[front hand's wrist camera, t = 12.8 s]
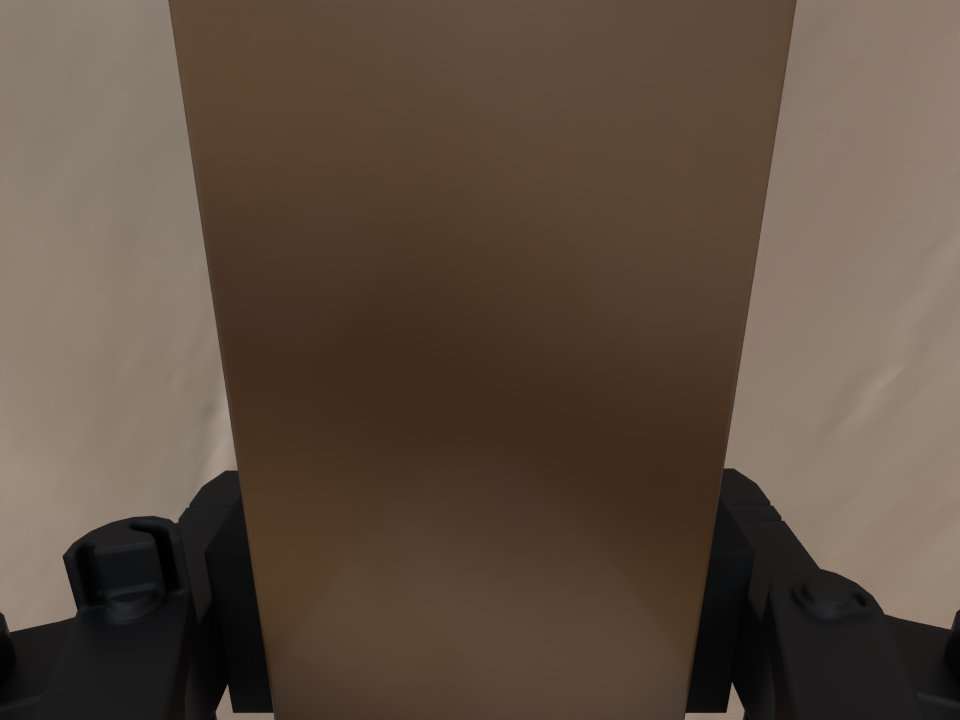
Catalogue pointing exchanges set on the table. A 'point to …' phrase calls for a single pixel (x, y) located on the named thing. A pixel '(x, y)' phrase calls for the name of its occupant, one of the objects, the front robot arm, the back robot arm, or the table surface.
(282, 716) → the post
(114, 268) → the table surface
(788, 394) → the table surface
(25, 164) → the table surface
